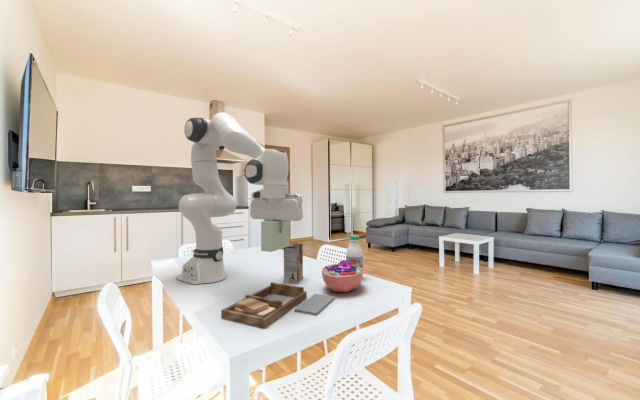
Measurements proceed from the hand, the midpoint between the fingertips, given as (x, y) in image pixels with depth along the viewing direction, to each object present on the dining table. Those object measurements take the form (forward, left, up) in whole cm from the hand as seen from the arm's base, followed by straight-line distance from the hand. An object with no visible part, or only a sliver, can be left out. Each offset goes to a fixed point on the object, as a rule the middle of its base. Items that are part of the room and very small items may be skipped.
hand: (275, 232), depth 101 cm
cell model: (+17, +23, -25) cm, 38 cm away
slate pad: (+14, +4, -25) cm, 29 cm away
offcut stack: (0, -13, -26) cm, 28 cm away
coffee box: (-7, +25, -25) cm, 36 cm away
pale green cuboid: (0, 0, -6) cm, 6 cm away
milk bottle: (+17, +39, -25) cm, 49 cm away
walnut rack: (0, -5, -25) cm, 25 cm away
